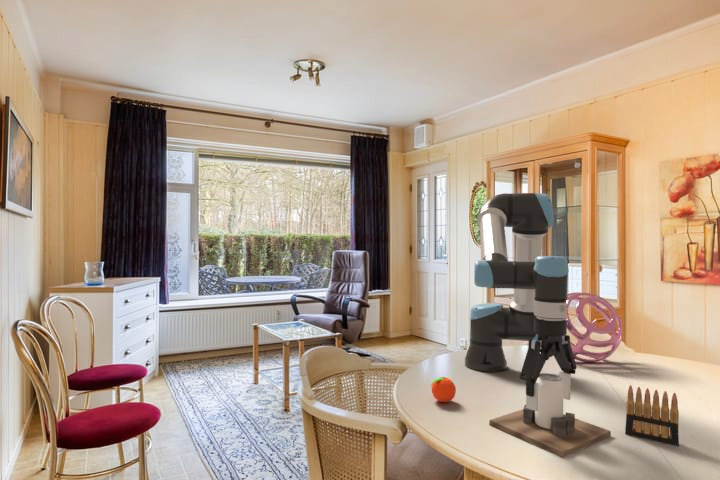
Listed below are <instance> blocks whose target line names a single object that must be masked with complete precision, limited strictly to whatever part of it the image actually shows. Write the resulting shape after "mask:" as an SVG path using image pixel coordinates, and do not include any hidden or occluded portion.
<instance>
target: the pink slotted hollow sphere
mask: <svg viewBox="0 0 720 480" xmlns="http://www.w3.org/2000/svg"><path fill="white" fill-rule="evenodd" d="M581 296H585V297H581ZM572 301H576V302H577V304H576V306H575V315H576V317H577V320H578V321H579V323H580V324H581V325H582V326H583V327H584V328H585V329H586V331H585V332H584V333H581V332H580V331H579V330H578V329H577V328H576V327H575V326H574V325H573V323H572V321H571V318H570V316H569V307H570V304H571V303H572ZM597 303H598V304H597ZM586 304H587V305H588V306H590V307H592V308H594V309H595V310H597V312H599V314H601V316H602V317H603V320H604V322H605V326H597V325H596V323H597V318H595V319H594V320H593V321H592V322H590V321H589V320H588V319H587V318H586V316H585V314H584V308H585V305H586ZM599 304H601V305H602V306H603V307H605V308H606V309H607V310H608V312H609V313H610V314H608V313H607V311H606V310H605V309H604V308H603V307H601V305H599ZM564 320H566V321H567V331H569V333H570V334H571V335H572V336H573V337H574V338H575V339H576V340H577V343H573V342H571V341H570V345H571V348H572V352H573V355H574V359H575V361H578V362H583V363H596V362H597V363H598V362H601V361H604V360H606V359H607V358H609V357H610V356H612V355H613V354H614V353H615V351H617V349H618V348H619V346H620V345H621V343H622V338H623V323H622V319H621V317H620V315H619V313H618V311H617V309H616V308H615V307H614V306H613V305H612V303H610V302H609V301H608V300H607V299H605V298H604V297H601V296H600V295H597V294H595V293H590V292H578V291H577V292H570V293H567V317H566V318H565V319H564ZM616 327H618V330H617V328H616ZM593 333H595V334H600V335H606V334H608V333H609V334H610V336H611V337H610V339H608V340H601V341H600V340H596V339H595V340H594V339H592V338H590V337H591V334H593ZM584 346H591V347H595V348H606V347H610V346H611V347H610V349H609V350H607V351H603V352H594V351H593V352H592V351H589V350H585V349H584ZM578 355H582V356H585V357H590V358H593V359H587V358H582V357H580V356H578Z"/></svg>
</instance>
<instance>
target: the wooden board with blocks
mask: <svg viewBox="0 0 720 480" xmlns="http://www.w3.org/2000/svg"><path fill="white" fill-rule="evenodd" d="M575 415H576V414H575V413H572V412H565V414H564V413H563V417H553V418H551V430H548V429H544V428H541V427H539V426H538V425H537V424H536V423H535V411H534V410H532V409H529V408H526V404H525V405H524V406H523V408H522V409H519V410H517V411H513V412H510V413H508V414H503V415H501V416H498V417H494V418H492V419H489V421H488V422H489V423H488V424H489V426H492V427H494V428H496V429H498V430H500V431H503V432H505V433H507V434H510V435H512V436H514V437H516V438H518V439H520V440H523V441H525V442H528V443H529V444H531V445H534V446H536V447H538V448H541V449H543V450H545V451H547V452H550V453H551V454H554V455H556V456H559V457H561V458H565V457H568V456H570V455H572V454H574V453H577V452H579V451H581V450H583V449H585V448H587V447H589V446H591V445H594V444H596V443H598V442H600V441H602V440H605V439H608V438H610V437H611V432H612V431H611V430H608V429H606V428H603V427H600V426H597V425H596V424H592V423H590V422H586V421H584V420H581V419H578V418H576V416H575Z"/></svg>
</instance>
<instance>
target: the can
mask: <svg viewBox="0 0 720 480" xmlns="http://www.w3.org/2000/svg"><path fill="white" fill-rule="evenodd" d="M536 383H538V411H535V423H536V424H537V425H538V426H539V427H541V428H544V429H548V430H551V418H553V417H563V414H564V400H565V399H564V385H563V382H562V378H561V377H560V376H559V375H557V374H553V373H540V374H539V377H538V379H537V381H536Z"/></svg>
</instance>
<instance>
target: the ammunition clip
mask: <svg viewBox="0 0 720 480" xmlns="http://www.w3.org/2000/svg"><path fill="white" fill-rule="evenodd" d="M668 395H669V394H668V393H667V391H666V390H665V391H664V392H663V395H662V399H661V406H660V395H659V391H658V389H655V390H654V392H653V397H652V398H653V399H652V404H651V392H650V389H649V388H648V387H646V389H645V392H644V400H643V398H642V397H643V395H642V390H641V387H640V386H638V387H637V389H636V392H635V397H634V390H633V387H632V385H631V384H630V385H629V386H628V389H627V396H626V397H627V398H626V404H625V405H626V406H625V407H626V408H625V410H626V411H625V412H626V413H625V428H624V429H625V433H624V434H625V435H626V436H631V437H634V438H639V439H643V440H648V441H652V442H657V443H660V444H661V443H662V444H666V445H670V446H676V447H679V446H680V438H679V425H680V424H679V417H680V415H679V412H680V411H679V405H678V404H679V402H678V401H679V400H678V396H677V394H676V392H673V394H672V396H671V404H670V408H669V396H668ZM634 398H635V401H634Z"/></svg>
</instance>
